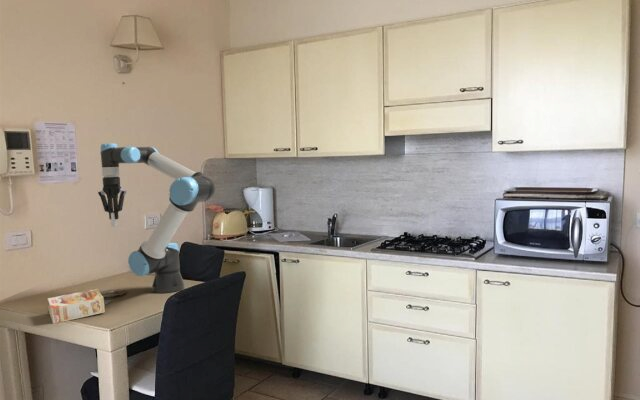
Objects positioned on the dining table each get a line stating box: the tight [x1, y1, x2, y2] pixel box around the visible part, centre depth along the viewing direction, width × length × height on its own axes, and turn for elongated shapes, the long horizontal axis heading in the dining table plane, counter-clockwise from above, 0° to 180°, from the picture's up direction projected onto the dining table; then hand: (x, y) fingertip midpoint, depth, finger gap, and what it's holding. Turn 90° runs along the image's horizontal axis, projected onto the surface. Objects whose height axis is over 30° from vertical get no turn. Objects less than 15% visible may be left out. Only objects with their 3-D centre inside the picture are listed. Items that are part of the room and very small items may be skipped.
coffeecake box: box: [47, 288, 106, 324], centre depth 214 cm, size 15×7×20 cm
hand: (114, 226), depth 245 cm, fingers closed
